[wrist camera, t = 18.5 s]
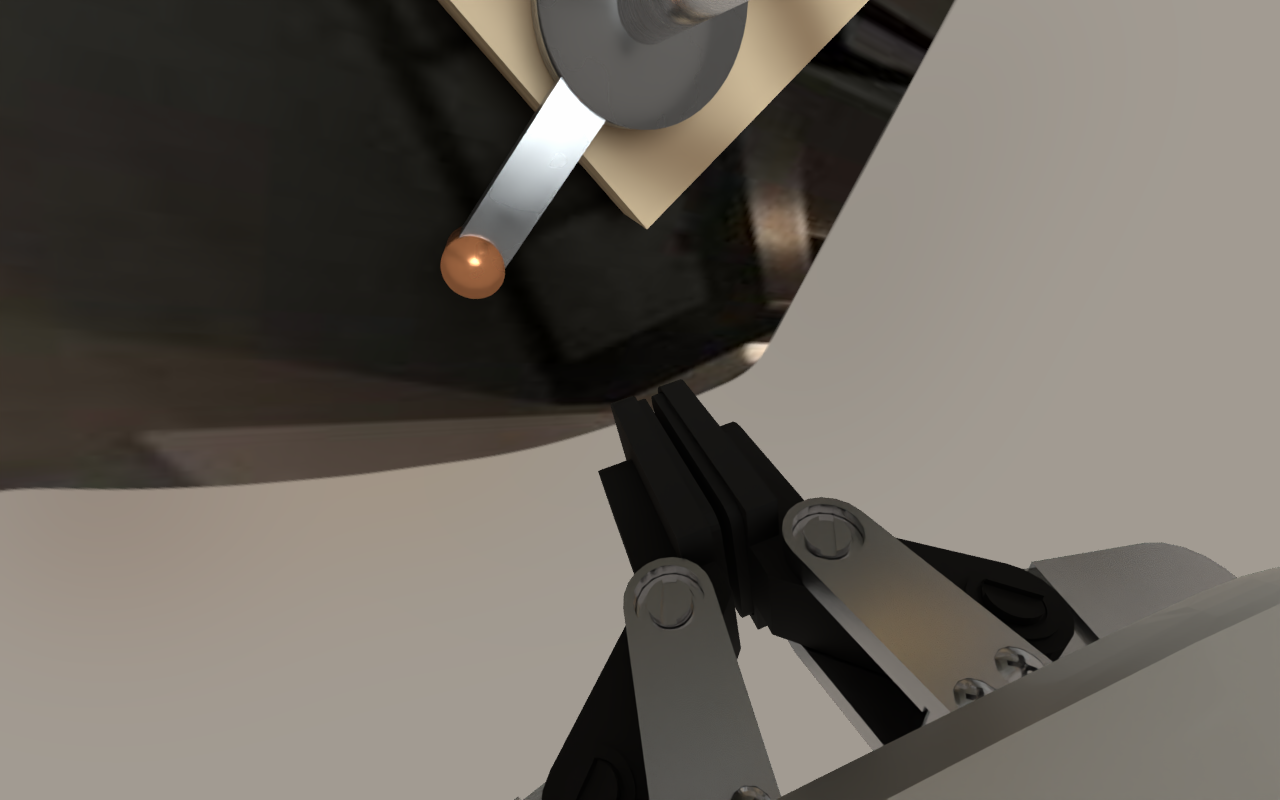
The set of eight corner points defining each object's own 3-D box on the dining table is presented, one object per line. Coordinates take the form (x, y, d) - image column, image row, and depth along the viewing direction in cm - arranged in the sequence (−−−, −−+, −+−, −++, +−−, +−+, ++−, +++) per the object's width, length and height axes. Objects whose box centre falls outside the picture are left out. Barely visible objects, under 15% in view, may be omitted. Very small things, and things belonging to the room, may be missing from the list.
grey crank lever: (377, 222, 21) (291, 299, 12) (613, -183, 17) (764, -550, 8) (530, 319, 25) (555, 432, 16) (751, 12, 21) (957, -75, 12)
